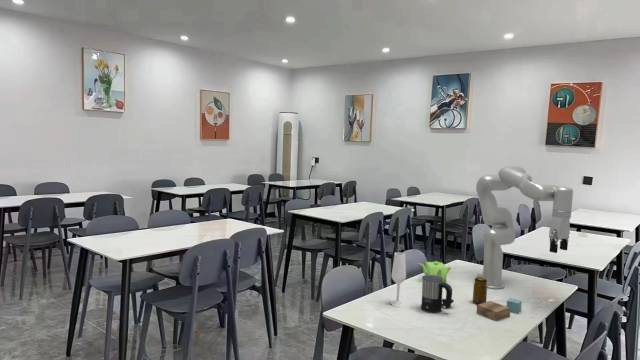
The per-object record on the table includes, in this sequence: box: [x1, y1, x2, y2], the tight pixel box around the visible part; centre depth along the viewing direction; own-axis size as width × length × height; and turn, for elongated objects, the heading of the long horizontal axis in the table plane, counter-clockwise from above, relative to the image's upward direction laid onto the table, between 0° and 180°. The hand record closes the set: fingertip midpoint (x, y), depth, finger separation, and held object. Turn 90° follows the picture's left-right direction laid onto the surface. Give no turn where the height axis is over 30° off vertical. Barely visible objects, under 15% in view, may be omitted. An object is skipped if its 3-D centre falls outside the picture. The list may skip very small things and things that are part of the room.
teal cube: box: [506, 297, 523, 315], centre depth 203 cm, size 5×5×5 cm
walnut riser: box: [476, 300, 511, 322], centre depth 197 cm, size 10×10×4 cm
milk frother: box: [420, 274, 455, 314], centre depth 203 cm, size 14×16×15 cm
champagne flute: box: [390, 251, 407, 307], centre depth 206 cm, size 7×7×24 cm
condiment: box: [468, 276, 488, 306], centre depth 211 cm, size 7×8×12 cm
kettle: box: [419, 261, 452, 283], centre depth 243 cm, size 15×14×11 cm
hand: (558, 251), depth 203 cm, fingers open, 9 cm apart
